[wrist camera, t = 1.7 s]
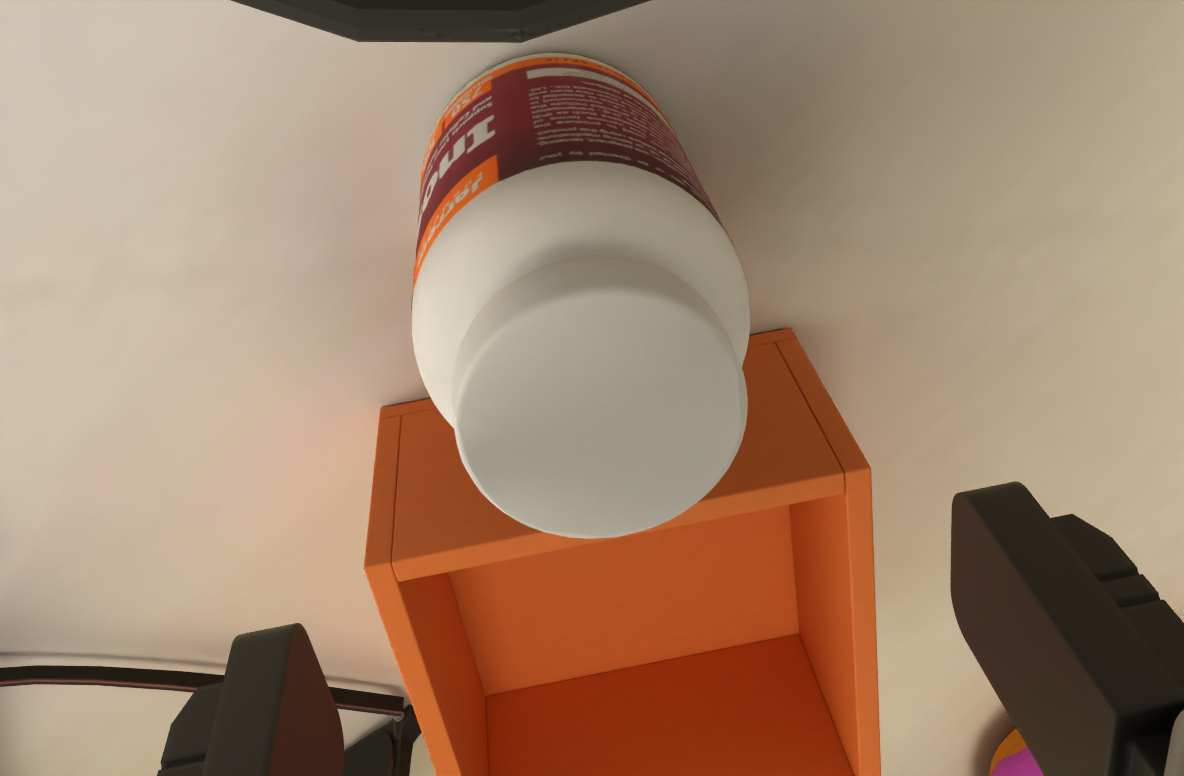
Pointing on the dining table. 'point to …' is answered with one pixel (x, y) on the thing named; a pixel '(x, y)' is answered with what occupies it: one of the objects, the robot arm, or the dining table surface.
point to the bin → (641, 607)
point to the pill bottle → (577, 301)
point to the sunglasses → (368, 765)
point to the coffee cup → (441, 17)
